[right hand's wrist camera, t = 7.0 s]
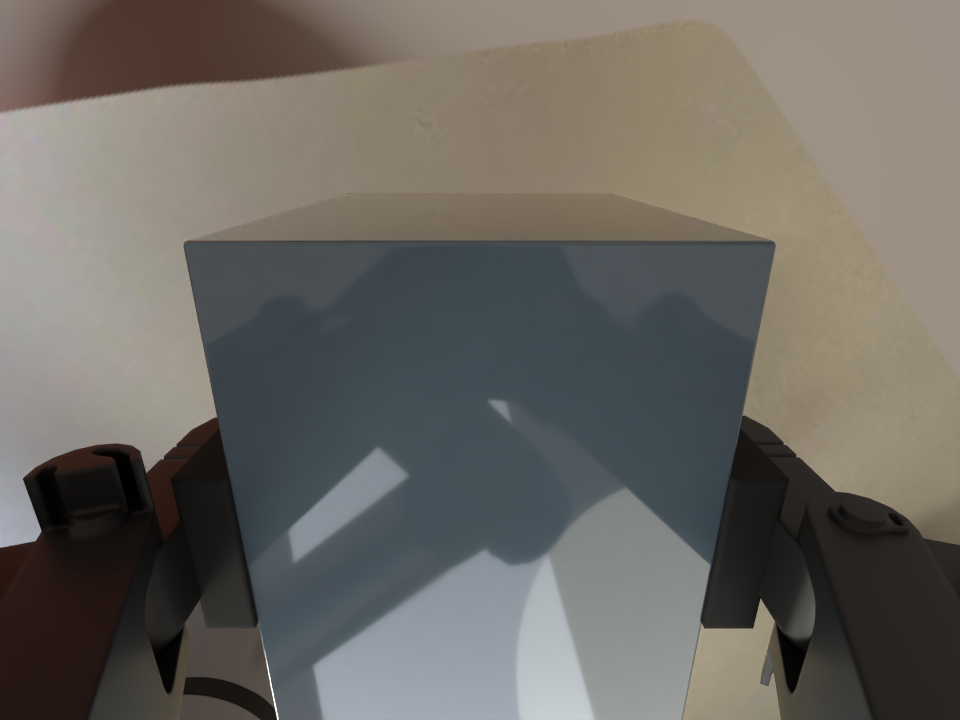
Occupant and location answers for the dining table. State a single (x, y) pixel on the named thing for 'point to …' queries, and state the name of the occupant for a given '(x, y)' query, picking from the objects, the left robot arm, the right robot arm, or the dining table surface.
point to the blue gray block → (479, 446)
